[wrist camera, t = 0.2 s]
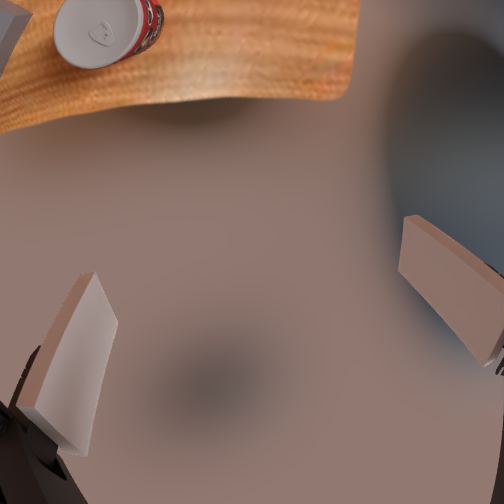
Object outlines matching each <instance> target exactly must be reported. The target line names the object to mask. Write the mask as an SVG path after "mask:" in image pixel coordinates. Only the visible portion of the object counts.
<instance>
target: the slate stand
mask: <svg viewBox="0 0 504 504" xmlns="http://www.w3.org/2000/svg"><path fill="white" fill-rule="evenodd" d="M32 15H33V14H32V13H30V12H28V11H27V10H25V9H23V8H21V7H19V6H17V5H15V4H14V3H12V2H10V1H8V0H0V77H1V75H2V73H3V70H4V68H5V66H6V64H7V62H8V59H9V57H10V55H11V53H12V51H13V49H14V47H15V45H16V43H17V41H18V39H19V37H20V36H21V34H22V32H23V30H24V28H25V27H26V25H27V23H28V21H29V20H30V18H31V16H32Z"/></svg>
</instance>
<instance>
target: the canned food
mask: <svg viewBox="0 0 504 504" xmlns="http://www.w3.org/2000/svg"><path fill="white" fill-rule="evenodd" d="M163 26H164V13H163V10H162V7H161V5H160V4H159V3H158V1H157V0H66V1H65V2H64V3H63V4H62V6H61V8H60V9H59V11H58V13H57V16H56V18H55V22H54V27H53V38H54V43H55V46H56V48H57V50H58V52H59V54H60V55H61V56H62V58H64V59H65V60H66V61H67V62H68V63H70V64H72V65H74V66H77V67H80V68H88V69H92V68H100V67H104V66H107V65H110V64H113V63H116V62H118V61H121V60H123V59H126V58H128V57H131V56H133V55H136V54H138V53H141V52H143V51H145V50H146V49H148V48H149V47H151V46H152V45H153V44H154V43H155V42H156V41H157V39H158V38H159V37H160V34H161V32H162V30H163Z"/></svg>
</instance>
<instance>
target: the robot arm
mask: <svg viewBox="0 0 504 504" xmlns="http://www.w3.org/2000/svg"><path fill="white" fill-rule="evenodd" d="M398 271H399V272H400V273H401V274H402V275H403V276H404V277H405V278H406V279H407V280H408V281H409V282H410V283H411V284H412V286H413V287H414V288H415V289H416V290H417V291H418V292H419V293H420V294H421V295H422V296H423V297H424V298H425V300H426V301H427V302H428V303H429V304H430V305H431V306H432V307H433V308H434V309H435V310H436V312H437V313H438V314H439V315H440V316H441V317H442V318H443V320H444V321H445V322H446V323H447V324H448V325H449V326H450V328H451V329H452V330H453V331H454V332H455V333H456V335H457V336H458V337H459V338H460V339H461V340H462V342H463V343H464V344H465V345H466V347H467V348H468V349H469V350H470V352H471V353H472V354H473V355H474V356H475V358H476V359H477V360H478V362H479V363H480V364H481V365H482V367H485V366H486V365H488V364H490V363H491V362H493V361H494V360H496V358H497V357H498V355H499V353H500V351H501V349H502V348H504V276H502V275H501V274H499V272H498V271H496V270H495V269H494V268H493V267H491V266H490V265H488V264H486V263H484V262H482V261H481V260H480V259H479V258H477V257H476V256H475V255H473V254H472V253H471V252H469V251H468V250H467V249H465V248H464V247H463V246H461V245H460V244H459V243H457V242H456V241H455V240H453V239H452V238H451V237H449V236H448V235H446V234H445V233H443V232H442V231H441V230H439V229H438V228H436V227H435V226H433V225H432V224H430V223H429V222H428V221H426V220H425V219H423V218H422V217H420V216H418V215H413V216H407V217H404V227H403V237H402V246H401V253H400V261H399V268H398ZM117 327H118V321H117V319H116V317H115V315H114V313H113V311H112V309H111V307H110V305H109V302H108V300H107V298H106V296H105V293H104V291H103V289H102V286H101V284H100V282H99V279H98V277H97V274H96V272H90V273H85V274H80V276H79V277H78V279H77V281H76V282H75V284H74V286H73V287H72V289H71V291H70V292H69V294H68V296H67V298H66V300H65V301H64V303H63V305H62V307H61V308H60V310H59V312H58V314H57V316H56V318H55V320H54V322H53V323H52V325H51V327H50V329H49V331H48V333H47V335H46V337H45V339H44V341H43V343H42V345H41V346H38V348H37V349H36V350H35V351H34V352H33V353H32V355H31V356H30V358H29V360H28V362H27V364H26V369H24V371H23V373H22V375H21V376H22V378H20V380H19V382H18V384H17V387H16V389H15V392H14V394H13V397H12V399H11V401H10V404H9V407H8V408H7V407H6V406H5V405H4V404H3V403H2V402H1V401H0V504H88V503H87V501H86V500H85V498H84V497H83V495H82V493H81V492H80V490H79V488H78V487H77V485H76V483H75V482H74V480H73V478H72V476H71V475H70V473H69V471H68V469H67V467H66V466H65V464H64V462H63V460H62V459H61V457H60V456H59V455H58V454H57V449H58V446H59V447H60V448H61V449H63V450H64V451H65V452H66V453H68V454H70V455H77V456H86V457H87V454H88V448H89V442H90V437H91V431H92V426H93V421H94V416H95V412H96V407H97V402H98V398H99V394H100V389H101V385H102V381H103V377H104V373H105V369H106V365H107V362H108V357H109V354H110V351H111V347H112V344H113V340H114V337H115V333H116V330H117ZM502 367H504V357H503V359H502V361H501V363H500V364H499V366H498V368H497V369H496V373H495V374H496V375H497V374H498V373H499V371H500V370H501V368H502ZM501 375H503V376H504V370H503V372H502V373H501ZM490 504H504V416H503V431H502V441H501V449H500V457H499V463H498V469H497V475H496V480H495V485H494V490H493V495H492V498H491V503H490Z"/></svg>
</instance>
